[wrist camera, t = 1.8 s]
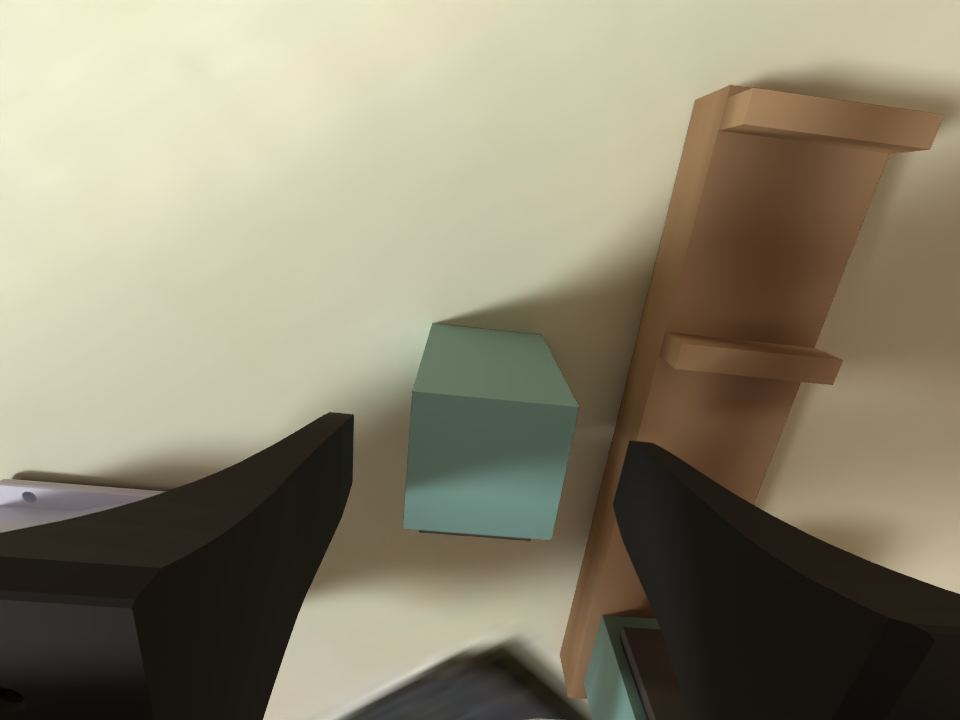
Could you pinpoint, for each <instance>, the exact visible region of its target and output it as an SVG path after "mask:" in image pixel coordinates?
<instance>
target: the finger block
mask: <svg viewBox="0 0 960 720" xmlns="http://www.w3.org/2000/svg"><path fill="white" fill-rule="evenodd" d="M578 411H579V406H578V404H577V402H576V400H575V398H574V396H573V394H572V392H571V390H570V388H569V386H568V385H567V383H566V381H565V379H564V377H563V375H562V373H561V371H560V369H559V367H558V365H557V363H556V361H555V359H554V357H553V356H552V354H551V352H550V350H549V348H548V346H547V344H546V342H545V340H544V338H543V336H542V335H538V334H529V333H519V332H510V331H500V330H491V329H481V328H471V327H462V326H452V325H443V324H433V323H432V326H431V329H430V333H429V336H428V340H427V343H426V346H425V350H424V353H423V357H422V360H421V364H420V367H419V370H418V374H417V377H416V381H415V384H414V387H413V391H412V404H411V418H410V433H409V447H408V461H407V476H406V490H405V505H404V519H403V529H413V530H419V532H422V533H435V534H448V535H461V536H474V537H487V538H500V539H513V540H526V541H531V539H542V540H551V539H552V535H553V530H554V525H555V520H556V516H557V511H558V506H559V501H560V497H561V492H562V487H563V482H564V477H565V473H566V468H567V463H568V458H569V454H570V449H571V444H572V439H573V435H574V430H575V425H576V420H577V416H578Z"/></svg>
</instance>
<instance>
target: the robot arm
mask: <svg viewBox="0 0 960 720" xmlns="http://www.w3.org/2000/svg"><path fill="white" fill-rule="evenodd" d="M353 431H354V415H353V414H343V413H332V412H329V413H327V414H325V415H323V416H322V417H320V418H318V419H316V420H315V421H313V422H311V423H310V424H308V425H306V426H305V427H303V428H301V429H300V430H298V431H296V432H295V433H293V434H291V435H290V436H288V437H286V438H284V439H283V440H281V441H279V442H278V443H276V444H274V445H272V446H270V447H268V448H266V449H264V450H263V451H261V452H259V453H257V454H255V455H253V456H251V457H249V458H247V459H245V460H243V461H241V462H239V463H237V464H235V465H233V466H231V467H229V468H226V469H224V470H222V471H220V472H217V473H215V474H212V475H210V476H208V477H205V478H203V479H200V480H198V481H195V482H193V483H190V484H187V485H184V486H181V487H178V488H175V489H172V490H169V491H154V490H141V489H129V488H116V487H103V486H91V485H78V484H66V483H53V482H41V481H28V480H16V479H3V480H1V481H0V720H263V717H264V714H265V711H266V708H267V705H268V702H269V699H270V695H271V692H272V689H273V686H274V683H275V680H276V677H277V674H278V671H279V668H280V665H281V662H282V659H283V656H284V653H285V650H286V647H287V645H288V642H289V639H290V636H291V633H292V630H293V627H294V624H295V621H296V619H297V616H298V613H299V611H300V608H301V606H302V603H303V601H304V598H305V596H306V594H307V592H308V589H309V587H310V585H311V583H312V581H313V579H314V576H315V574H316V572H317V570H318V568H319V566H320V564H321V561H322V559H323V557H324V555H325V553H326V551H327V548H328V546H329V544H330V542H331V540H332V538H333V535H334V533H335V531H336V529H337V527H338V524H339V522H340V520H341V518H342V515H343V512H344V509H345V505H346V502H347V499H348V496H349V492H350V489H351V486H352V478H353ZM613 508H614V512H615V516H616V520H617V524H618V527H619V530H620V534H621V537H622V540H623V543H624V545H625V548H626V550H627V552H628V555H629V557H630V559H631V562H632V564H633V567H634V569H635V571H636V573H637V576H638V578H639V580H640V583H641V585H642V587H643V589H644V592H645V594H646V596H647V599H648V601H649V603H650V605H651V608H652V610H653V612H654V615H655V617H656V619H657V622H658V624H659V627H660V629H661V632H662V634H663V637H664V640H665V643H666V646H667V649H668V652H669V655H670V658H671V661H672V664H673V667H674V671H675V674H676V677H677V680H678V683H679V686H680V690H681V693H682V697H683V700H684V703H685V707H686V710H687V714H688V717H689V720H960V594H958V593H955V592H951V591H948V590H945V589H942V588H939V587H936V586H933V585H931V584H928V583H925V582H923V581H920V580H917V579H914V578H912V577H909V576H906V575H904V574H901V573H898V572H895V571H893V570H890V569H888V568H885V567H883V566H880V565H878V564H875V563H872V562H870V561H867V560H865V559H863V558H860V557H858V556H856V555H853V554H851V553H849V552H847V551H844V550H842V549H840V548H837V547H835V546H833V545H830V544H828V543H826V542H824V541H822V540H820V539H817V538H815V537H813V536H811V535H809V534H807V533H805V532H803V531H801V530H799V529H797V528H795V527H793V526H791V525H789V524H787V523H785V522H783V521H781V520H780V519H778V518H776V517H774V516H772V515H770V514H768V513H767V512H765V511H763V510H761V509H759V508H758V507H756V506H754V505H753V504H751V503H749V502H748V501H746V500H744V499H743V498H741V497H739V496H737V495H736V494H734V493H733V492H731V491H729V490H728V489H726V488H724V487H723V486H721V485H720V484H718V483H717V482H715V481H713V480H712V479H710V478H709V477H707V476H706V475H704V474H703V473H701V472H700V471H698V470H697V469H695V468H694V467H692V466H690V465H689V464H687V463H686V462H684V461H683V460H681V459H680V458H678V457H677V456H675V455H673V454H672V453H670V452H669V451H667V450H665V449H664V448H662V447H660V446H658V445H656V444H654V443H651V442H641V441H630V440H629V444H628V448H627V452H626V456H625V460H624V463H623V467H622V471H621V475H620V479H619V483H618V486H617V490H616V494H615V498H614V502H613ZM529 720H553V719H529Z"/></svg>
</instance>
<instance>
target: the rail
mask: <svg viewBox="0 0 960 720" xmlns="http://www.w3.org/2000/svg"><path fill="white" fill-rule="evenodd" d="M943 117H944V115H942V114H935V113H928V112H921V111H914V110H907V109H900V108H893V107H886V106H879V105H872V104H865V103H858V102H851V101H844V100H837V99H830V98H823V97H816V96H809V95H802V94H795V93H787V92H780V91H773V90H766V89H759V88H748V87H741V86H734V85H729V86H727V87H725V88H722V89H720V90H718V91H715V92H713V93H711V94H708V95H706V96H704V97H701V98H699V99H697V100H695V103H694V107H693V111H692V116H691V120H690V124H689V128H688V132H687V136H686V140H685V144H684V148H683V152H682V157H681V161H680V165H679V169H678V173H677V177H676V181H675V185H674V189H673V193H672V198H671V202H670V206H669V210H668V214H667V218H666V222H665V226H664V230H663V234H662V239H661V243H660V247H659V251H658V255H657V259H656V263H655V267H654V271H653V275H652V280H651V284H650V288H649V292H648V296H647V300H646V304H645V308H644V312H643V316H642V321H641V325H640V329H639V333H638V337H637V341H636V345H635V349H634V353H633V357H632V362H631V366H630V370H629V374H628V378H627V382H626V386H625V390H624V394H623V398H622V403H621V407H620V411H619V415H618V419H617V423H616V427H615V431H614V435H613V439H612V444H611V448H610V452H609V456H608V460H607V464H606V468H605V472H604V476H603V480H602V485H601V489H600V493H599V497H598V501H597V505H596V509H595V513H594V517H593V521H592V526H591V530H590V534H589V538H588V542H587V546H586V550H585V554H584V558H583V562H582V567H581V571H580V575H579V579H578V583H577V587H576V591H575V595H574V599H573V603H572V608H571V612H570V616H569V620H568V624H567V628H566V632H565V636H564V640H563V644H562V649H561V653H560V658H561V663H562V668H563V673H564V678H565V683H566V688H567V693H568V698H584V699H588V703H589V708H590V712H591V716H592V720H689V717H688V714H687V710H686V707H685V703H684V700H683V697H682V693H681V690H680V686H679V683H678V680H677V677H676V674H675V671H674V667H673V664H672V661H671V658H670V655H669V652H668V649H667V646H666V643H665V640H664V637H663V634H662V632H661V629H660V627H659V624H658V622H657V619H656V617H655V615H654V612H653V610H652V608H651V605H650V603H649V601H648V599H647V596H646V594H645V592H644V589H643V587H642V585H641V583H640V580H639V578H638V576H637V573H636V571H635V569H634V567H633V564H632V562H631V559H630V557H629V555H628V552H627V550H626V548H625V545H624V543H623V540H622V537H621V534H620V530H619V527H618V524H617V520H616V516H615V512H614V508H613V502H614V498H615V494H616V490H617V486H618V483H619V479H620V475H621V471H622V467H623V463H624V460H625V456H626V452H627V448H628V444H629V440H630V441H641V442H651V443H654V444H656V445H658V446H660V447H662V448H664V449H665V450H667V451H669V452H670V453H672V454H673V455H675V456H677V457H678V458H680V459H681V460H683V461H684V462H686V463H687V464H689V465H690V466H692V467H694V468H695V469H697V470H698V471H700V472H701V473H703V474H704V475H706V476H707V477H709V478H710V479H712V480H713V481H715V482H717V483H718V484H720V485H721V486H723V487H724V488H726V489H728V490H729V491H731V492H733V493H734V494H736V495H737V496H739V497H741V498H743V499H744V500H746V501H748V502H749V503H751V504H753V505H754V502H755V500H756V497H757V494H758V492H759V489H760V487H761V484H762V481H763V479H764V476H765V474H766V471H767V469H768V466H769V463H770V461H771V458H772V456H773V453H774V450H775V448H776V445H777V443H778V440H779V437H780V435H781V432H782V430H783V427H784V425H785V422H786V419H787V417H788V414H789V412H790V409H791V406H792V404H793V401H794V399H795V396H796V393H797V391H798V388H799V386H800V383H801V382H809V383H819V384H829V385H833V383H834V381H835V378H836V376H837V373H838V371H839V369H840V366H841V364H842V361H843V360H841V359H838V358H836V357H834V356H831V355H829V354H827V353H825V352H822V351H820V350H818V349H816V348H814V347H815V344H816V342H817V339H818V336H819V334H820V331H821V329H822V326H823V324H824V321H825V318H826V316H827V313H828V311H829V308H830V305H831V303H832V300H833V298H834V295H835V292H836V290H837V287H838V285H839V282H840V279H841V277H842V274H843V272H844V269H845V267H846V264H847V261H848V259H849V256H850V254H851V251H852V248H853V246H854V243H855V241H856V238H857V235H858V233H859V230H860V228H861V225H862V223H863V220H864V217H865V215H866V212H867V210H868V207H869V204H870V202H871V199H872V197H873V194H874V191H875V189H876V186H877V184H878V181H879V179H880V176H881V173H882V171H883V168H884V166H885V163H886V160H887V158H888V155H889V154H891V153H901V152H911V151H921V150H930V148H931V146H932V143H933V141H934V139H935V136H936V134H937V131H938V129H939V126H940V124H941V122H942V119H943Z"/></svg>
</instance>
